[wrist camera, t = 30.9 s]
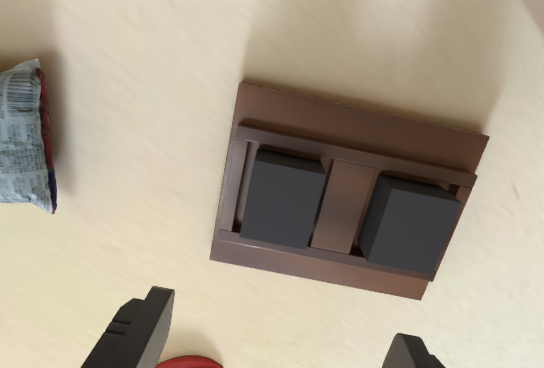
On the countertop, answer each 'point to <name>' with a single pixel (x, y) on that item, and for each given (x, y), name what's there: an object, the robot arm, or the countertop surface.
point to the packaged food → (26, 138)
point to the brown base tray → (337, 182)
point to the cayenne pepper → (189, 363)
